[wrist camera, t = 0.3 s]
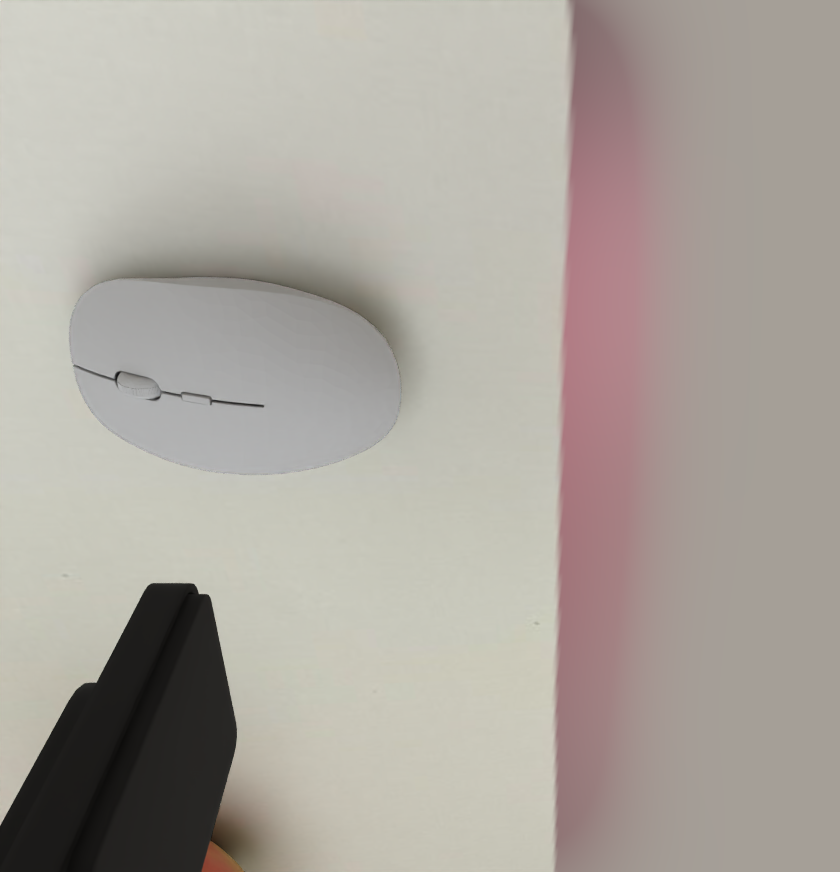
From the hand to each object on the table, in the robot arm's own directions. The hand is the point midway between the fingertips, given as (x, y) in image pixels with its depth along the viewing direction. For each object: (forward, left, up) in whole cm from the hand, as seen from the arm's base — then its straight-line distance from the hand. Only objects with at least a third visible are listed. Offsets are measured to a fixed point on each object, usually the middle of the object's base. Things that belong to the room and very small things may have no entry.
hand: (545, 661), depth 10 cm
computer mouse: (+1, -7, -14) cm, 16 cm away
